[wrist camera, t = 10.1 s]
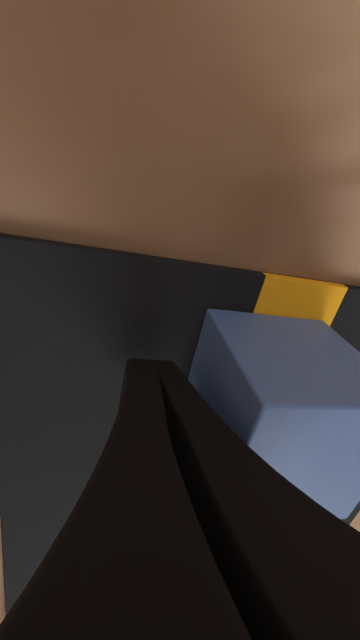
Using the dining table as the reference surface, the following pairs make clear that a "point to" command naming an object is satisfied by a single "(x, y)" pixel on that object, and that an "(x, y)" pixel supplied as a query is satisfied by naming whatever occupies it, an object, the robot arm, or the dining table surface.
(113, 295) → the line mat
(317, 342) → the blue block
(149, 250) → the dining table surface
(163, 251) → the dining table surface
